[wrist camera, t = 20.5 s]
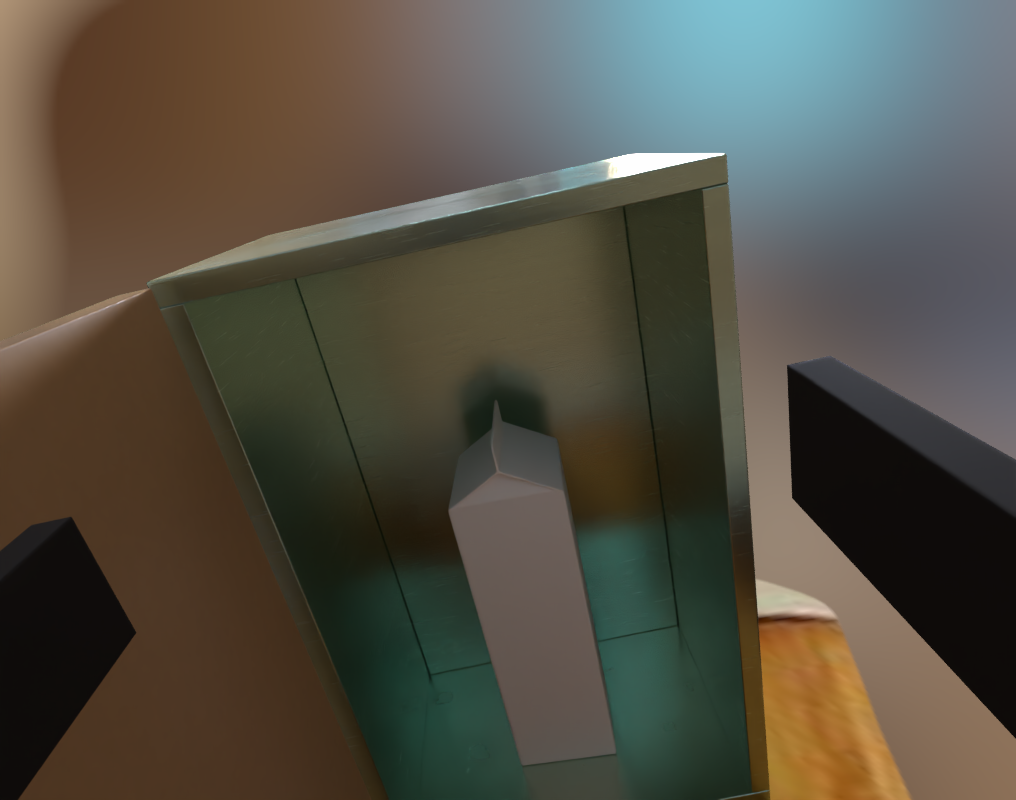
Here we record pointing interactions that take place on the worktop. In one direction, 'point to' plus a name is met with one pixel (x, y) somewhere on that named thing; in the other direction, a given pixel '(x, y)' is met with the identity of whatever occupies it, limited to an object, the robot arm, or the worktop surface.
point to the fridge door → (161, 575)
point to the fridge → (464, 420)
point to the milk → (531, 593)
